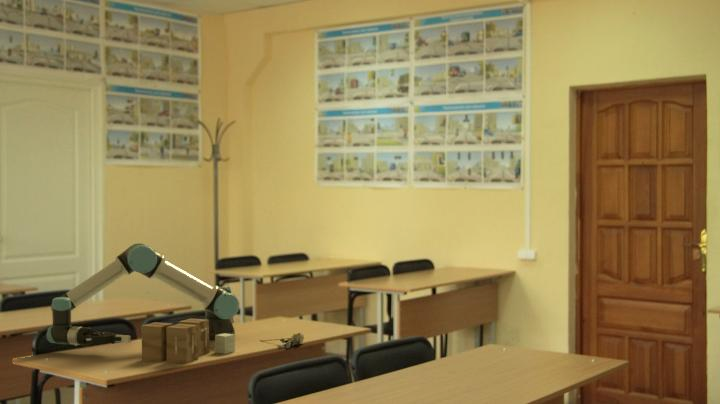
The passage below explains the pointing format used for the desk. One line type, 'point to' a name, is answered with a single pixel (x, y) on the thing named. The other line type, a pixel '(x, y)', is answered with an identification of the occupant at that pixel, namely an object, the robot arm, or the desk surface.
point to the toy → (290, 340)
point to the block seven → (200, 334)
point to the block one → (182, 343)
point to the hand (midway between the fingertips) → (129, 339)
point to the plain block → (154, 341)
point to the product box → (224, 343)
